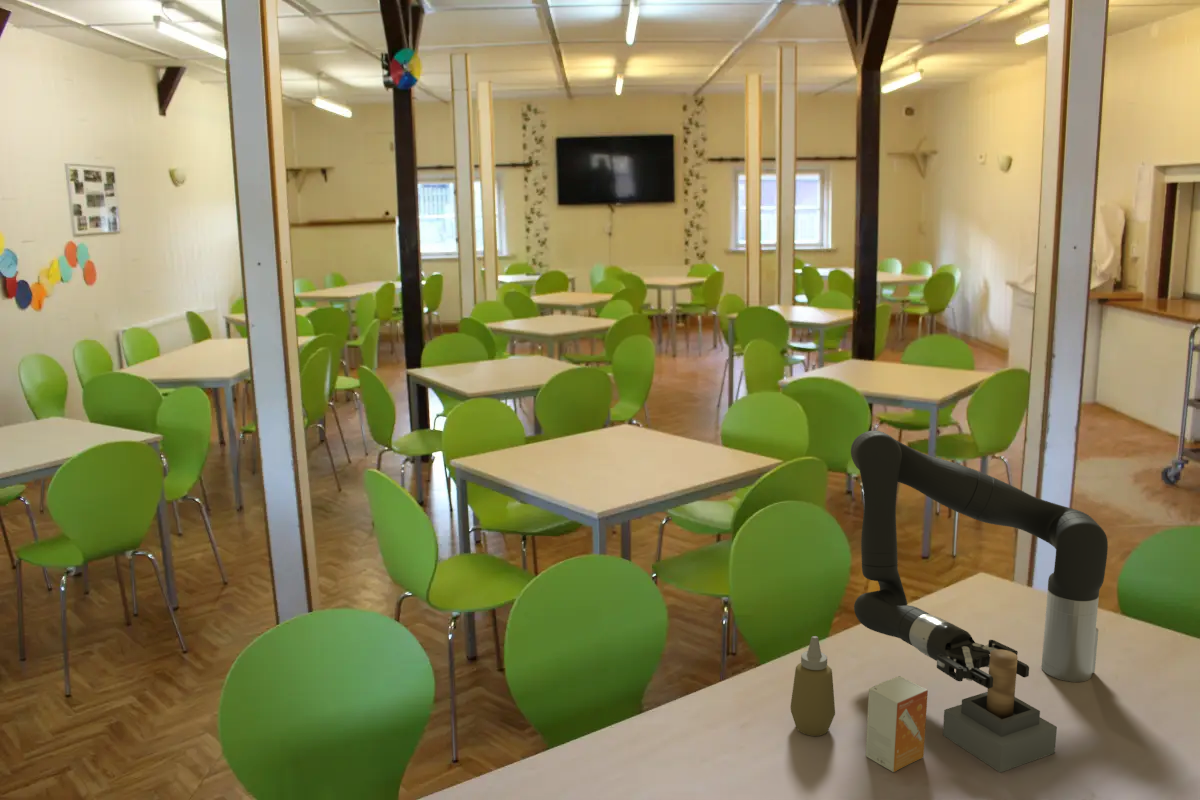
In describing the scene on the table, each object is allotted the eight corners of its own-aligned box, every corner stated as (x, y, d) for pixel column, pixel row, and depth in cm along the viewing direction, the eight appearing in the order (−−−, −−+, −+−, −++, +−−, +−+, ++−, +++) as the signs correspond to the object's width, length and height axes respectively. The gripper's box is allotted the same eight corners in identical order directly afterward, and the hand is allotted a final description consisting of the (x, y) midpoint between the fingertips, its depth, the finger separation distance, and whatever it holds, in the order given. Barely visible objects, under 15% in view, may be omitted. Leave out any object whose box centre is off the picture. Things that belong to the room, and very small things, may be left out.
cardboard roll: (998, 709, 172) (1003, 647, 169) (1018, 720, 168) (1023, 657, 165) (980, 715, 170) (984, 652, 167) (999, 726, 166) (1004, 663, 164)
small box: (893, 773, 162) (897, 703, 159) (864, 756, 167) (867, 687, 164) (925, 758, 166) (928, 689, 163) (895, 741, 171) (898, 674, 169)
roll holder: (995, 717, 178) (998, 680, 177) (1054, 752, 167) (1058, 713, 165) (942, 735, 173) (945, 697, 171) (1000, 772, 161) (1002, 732, 160)
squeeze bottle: (836, 720, 178) (840, 630, 175) (832, 743, 171) (835, 650, 167) (793, 713, 181) (795, 625, 177) (786, 736, 174) (788, 644, 170)
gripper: (912, 629, 176) (980, 666, 162) (969, 614, 182) (1040, 648, 168) (910, 667, 178) (978, 707, 164) (967, 650, 184) (1037, 688, 169)
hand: (1009, 677), depth 166 cm, fingers open, 8 cm apart
